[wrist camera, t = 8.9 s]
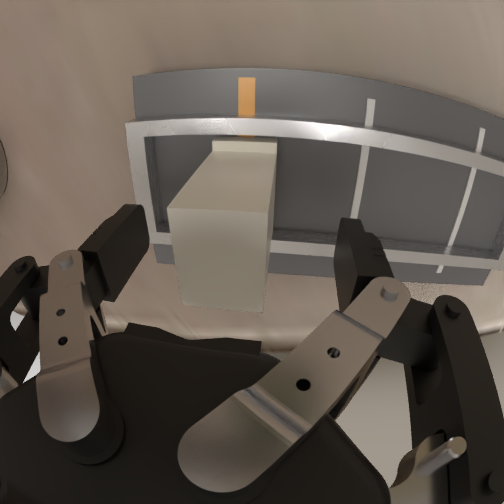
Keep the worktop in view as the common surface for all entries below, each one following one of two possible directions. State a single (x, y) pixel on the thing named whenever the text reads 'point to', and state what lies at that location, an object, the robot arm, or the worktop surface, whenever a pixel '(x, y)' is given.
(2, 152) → the thermos bottle
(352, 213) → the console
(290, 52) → the worktop surface
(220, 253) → the block
